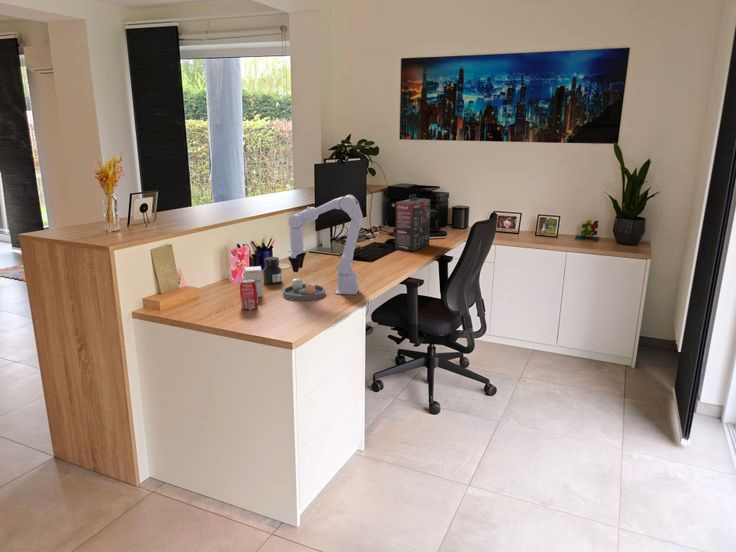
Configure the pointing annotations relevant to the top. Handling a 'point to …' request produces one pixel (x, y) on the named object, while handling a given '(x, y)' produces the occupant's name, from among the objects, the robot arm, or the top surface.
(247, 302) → the soda can
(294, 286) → the sage bead
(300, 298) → the groove tray
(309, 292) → the terracotta bead
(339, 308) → the top surface
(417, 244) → the headset box
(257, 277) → the supplement box
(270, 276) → the ink bottle
